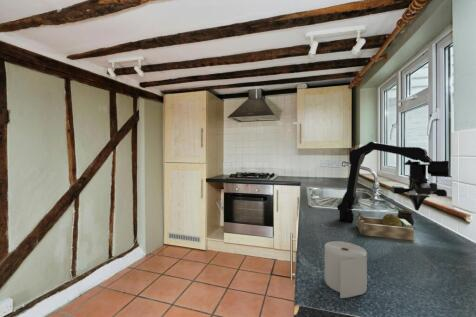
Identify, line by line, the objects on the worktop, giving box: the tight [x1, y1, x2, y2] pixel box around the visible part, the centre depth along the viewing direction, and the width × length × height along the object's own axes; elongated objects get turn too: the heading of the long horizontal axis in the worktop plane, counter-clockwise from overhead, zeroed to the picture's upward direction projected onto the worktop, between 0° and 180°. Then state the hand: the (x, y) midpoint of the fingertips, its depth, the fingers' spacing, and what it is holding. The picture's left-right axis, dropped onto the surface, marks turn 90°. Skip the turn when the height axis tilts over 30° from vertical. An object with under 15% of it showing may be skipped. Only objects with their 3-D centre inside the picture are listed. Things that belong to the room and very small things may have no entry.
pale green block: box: [400, 219, 413, 228], centre depth 99 cm, size 2×10×6 cm, turn 158°
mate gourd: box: [395, 206, 415, 227], centre depth 111 cm, size 7×8×10 cm
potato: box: [382, 213, 403, 227], centre depth 102 cm, size 8×13×8 cm, turn 140°
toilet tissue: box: [323, 240, 368, 299], centre depth 61 cm, size 11×12×10 cm
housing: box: [356, 211, 415, 241], centre depth 103 cm, size 20×13×8 cm
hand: (416, 210), depth 98 cm, fingers closed
